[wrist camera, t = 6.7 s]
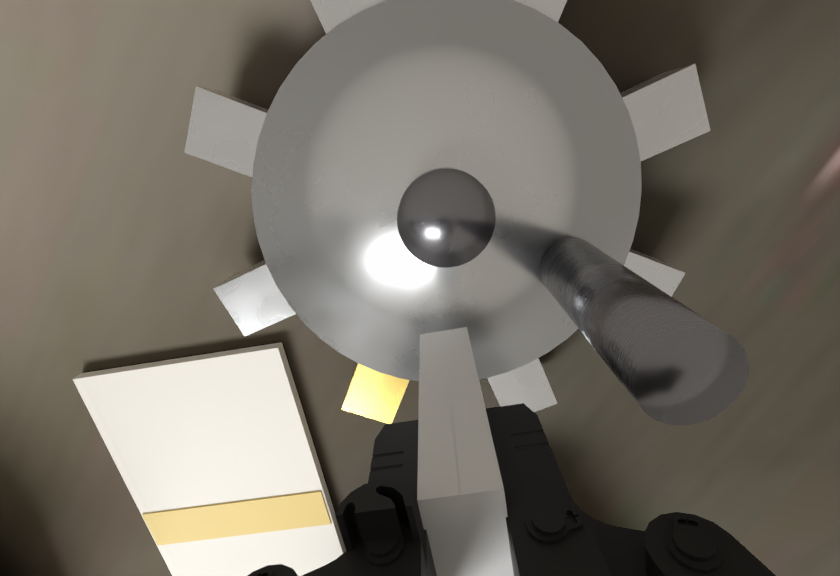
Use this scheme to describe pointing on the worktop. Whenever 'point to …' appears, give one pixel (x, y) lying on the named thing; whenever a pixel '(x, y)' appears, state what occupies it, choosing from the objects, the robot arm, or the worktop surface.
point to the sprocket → (466, 204)
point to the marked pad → (218, 460)
